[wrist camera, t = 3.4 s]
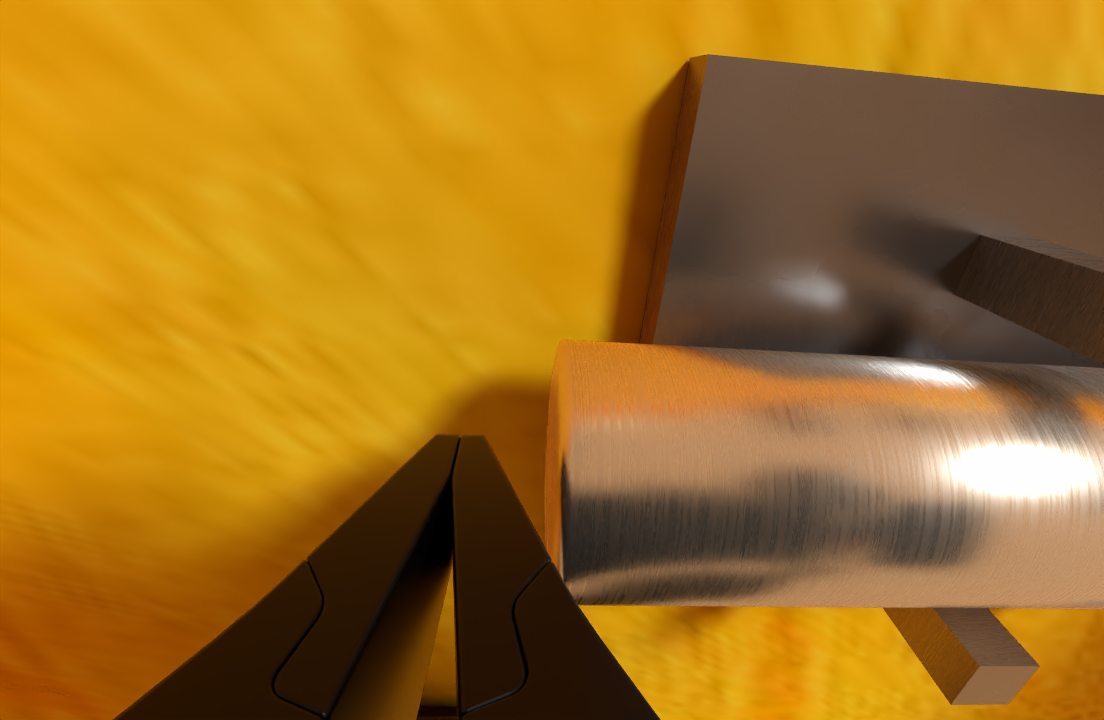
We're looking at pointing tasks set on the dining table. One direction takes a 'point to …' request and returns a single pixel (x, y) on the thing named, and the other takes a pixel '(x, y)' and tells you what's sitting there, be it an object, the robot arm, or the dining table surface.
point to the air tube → (822, 479)
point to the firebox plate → (887, 248)
